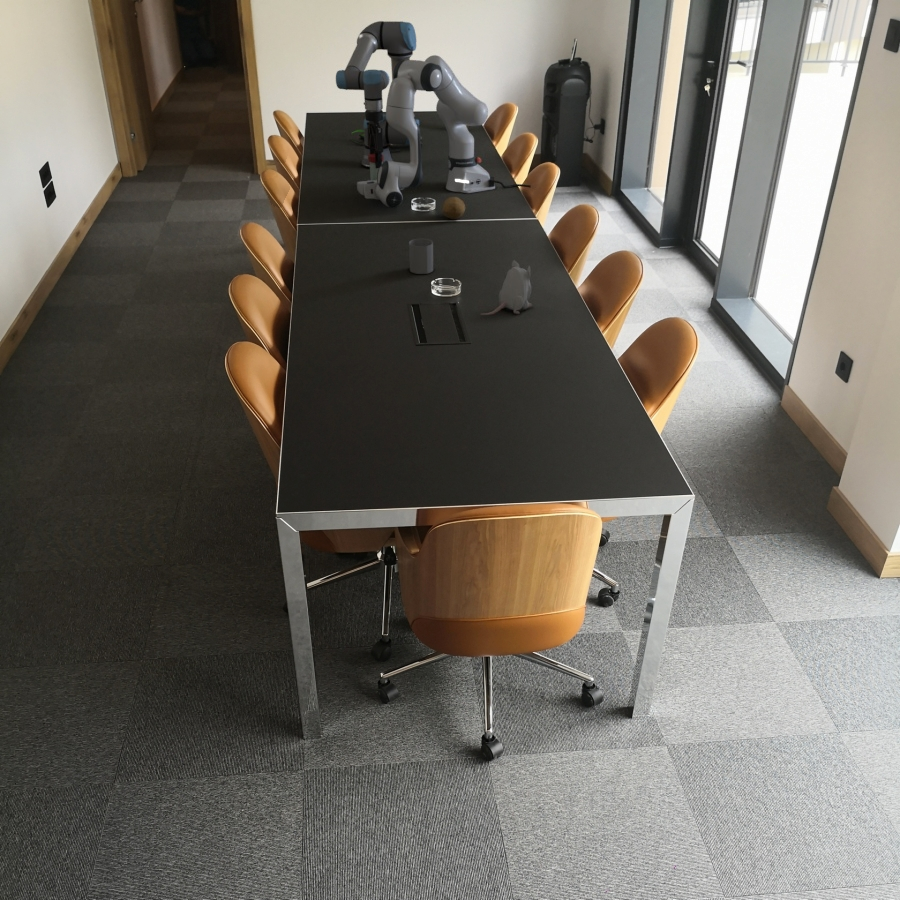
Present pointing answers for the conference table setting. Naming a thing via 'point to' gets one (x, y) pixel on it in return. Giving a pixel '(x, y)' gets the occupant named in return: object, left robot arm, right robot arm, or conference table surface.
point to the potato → (453, 208)
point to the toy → (515, 290)
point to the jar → (373, 171)
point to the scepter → (359, 138)
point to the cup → (421, 256)
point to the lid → (373, 158)
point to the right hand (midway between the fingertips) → (376, 180)
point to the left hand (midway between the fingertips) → (376, 165)
